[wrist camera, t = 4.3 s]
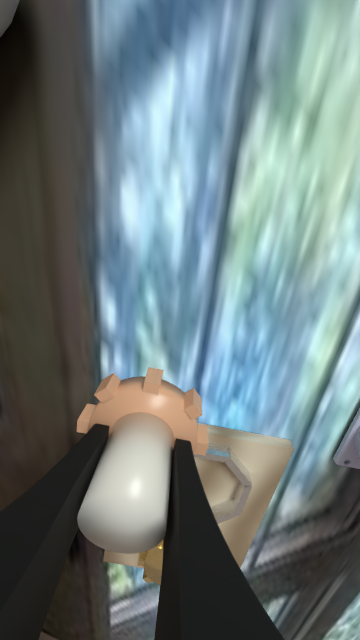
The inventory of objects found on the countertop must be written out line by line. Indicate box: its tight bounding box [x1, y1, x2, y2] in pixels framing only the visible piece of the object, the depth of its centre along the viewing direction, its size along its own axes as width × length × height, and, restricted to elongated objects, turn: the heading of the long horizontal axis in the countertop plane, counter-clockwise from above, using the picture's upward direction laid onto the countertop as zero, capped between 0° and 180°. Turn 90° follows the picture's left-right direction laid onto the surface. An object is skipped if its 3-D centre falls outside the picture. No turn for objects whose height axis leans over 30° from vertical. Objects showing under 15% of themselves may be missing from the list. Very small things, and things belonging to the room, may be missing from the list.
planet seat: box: [194, 442, 252, 524], centre depth 22 cm, size 9×9×1 cm
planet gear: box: [77, 367, 209, 554], centre depth 11 cm, size 6×6×5 cm
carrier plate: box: [103, 423, 294, 568], centre depth 25 cm, size 14×19×1 cm
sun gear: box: [137, 538, 164, 585], centre depth 24 cm, size 7×7×3 cm
